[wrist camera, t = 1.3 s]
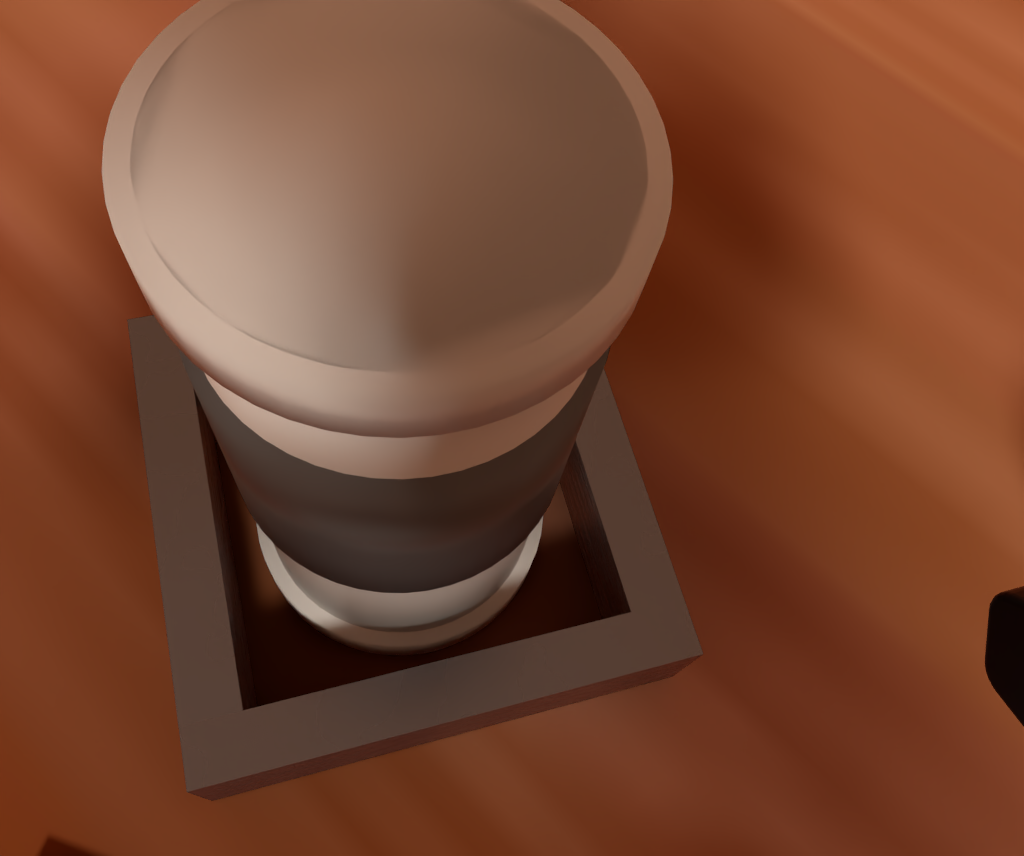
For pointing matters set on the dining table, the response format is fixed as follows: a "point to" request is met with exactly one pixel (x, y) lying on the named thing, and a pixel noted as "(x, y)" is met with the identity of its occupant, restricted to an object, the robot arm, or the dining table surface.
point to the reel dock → (407, 693)
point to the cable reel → (390, 278)
